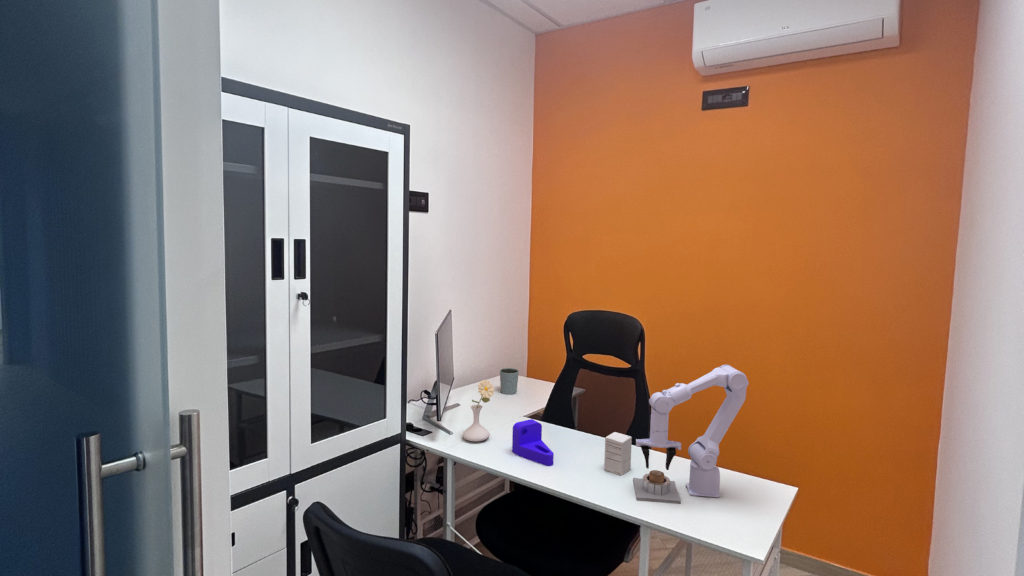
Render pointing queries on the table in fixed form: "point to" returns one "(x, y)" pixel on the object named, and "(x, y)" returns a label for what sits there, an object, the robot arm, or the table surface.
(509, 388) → the green cylindrical pot
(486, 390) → the flower in vase
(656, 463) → the table surface
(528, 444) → the bracket
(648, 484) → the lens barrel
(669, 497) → the mount plate
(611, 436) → the supplement box
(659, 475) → the walnut cap
